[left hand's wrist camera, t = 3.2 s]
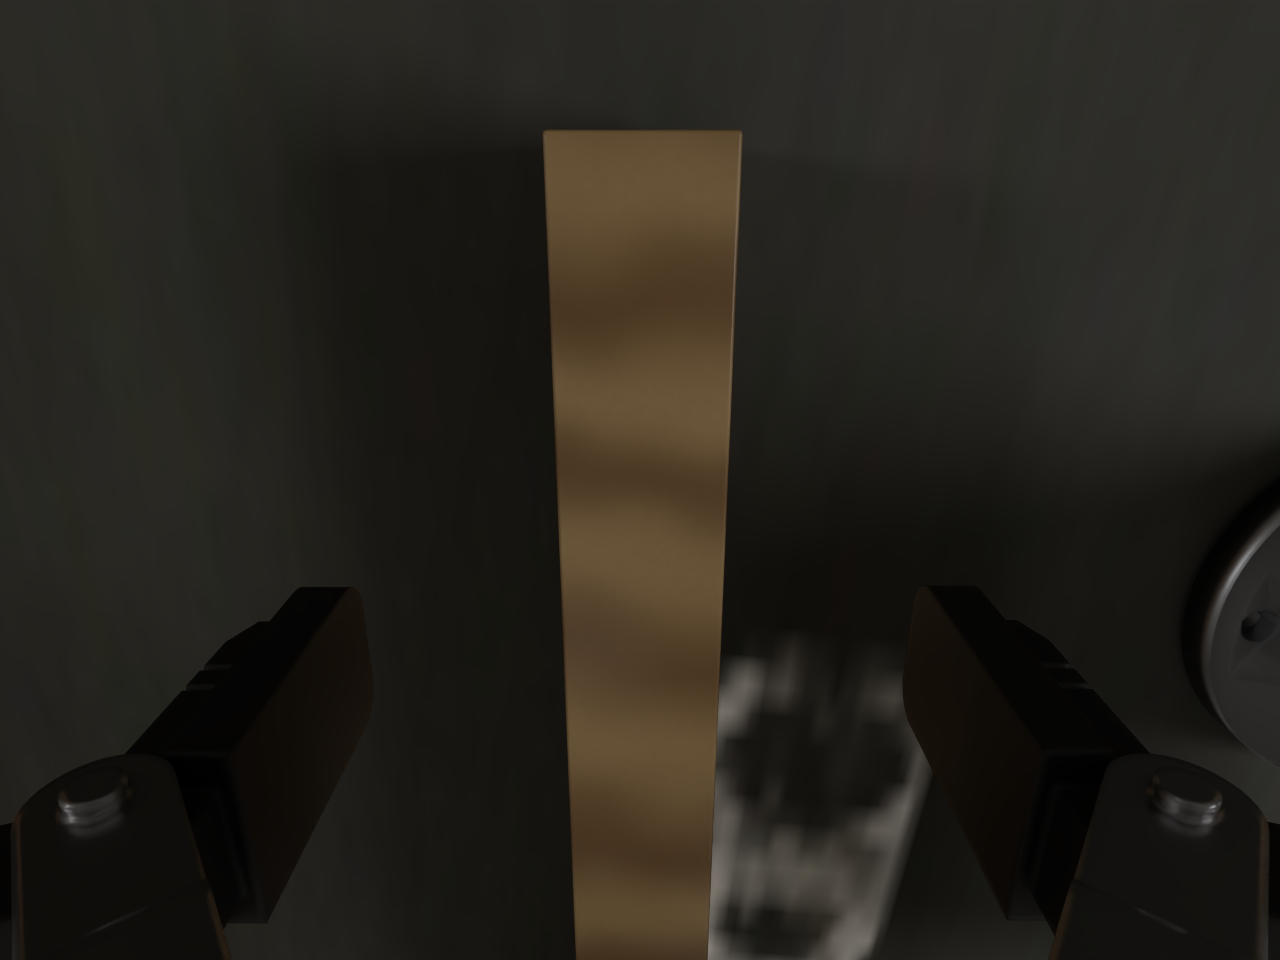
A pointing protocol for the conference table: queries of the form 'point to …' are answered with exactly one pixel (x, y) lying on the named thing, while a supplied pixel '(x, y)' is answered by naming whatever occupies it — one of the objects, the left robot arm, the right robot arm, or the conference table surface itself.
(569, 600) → the post
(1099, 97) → the conference table surface
